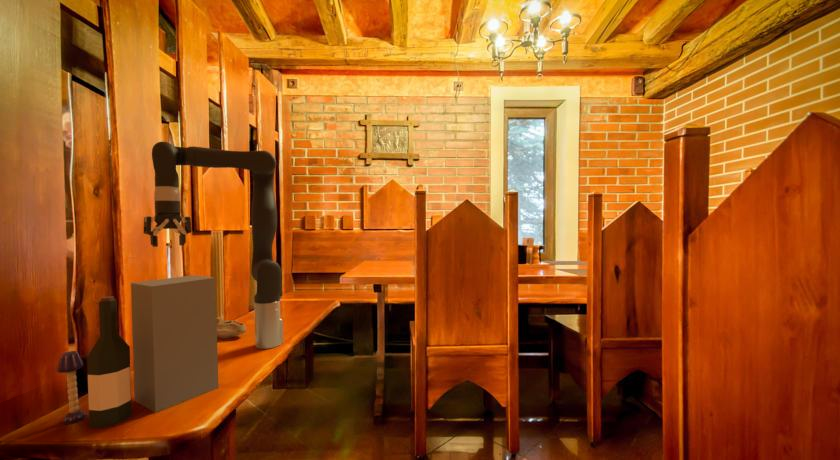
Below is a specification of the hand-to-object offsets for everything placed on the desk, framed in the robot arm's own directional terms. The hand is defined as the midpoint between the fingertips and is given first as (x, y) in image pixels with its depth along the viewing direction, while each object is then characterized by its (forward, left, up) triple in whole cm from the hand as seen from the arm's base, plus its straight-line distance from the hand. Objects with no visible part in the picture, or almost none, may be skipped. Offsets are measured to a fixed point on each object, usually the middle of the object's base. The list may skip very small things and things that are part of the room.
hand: (169, 246), depth 129 cm
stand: (+13, +32, -40) cm, 53 cm away
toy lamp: (+33, +24, -40) cm, 57 cm away
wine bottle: (+28, +32, -40) cm, 59 cm away
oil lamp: (-25, -6, -40) cm, 48 cm away
